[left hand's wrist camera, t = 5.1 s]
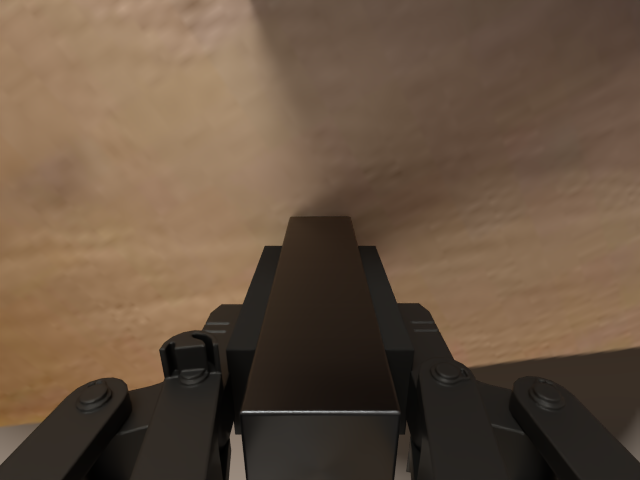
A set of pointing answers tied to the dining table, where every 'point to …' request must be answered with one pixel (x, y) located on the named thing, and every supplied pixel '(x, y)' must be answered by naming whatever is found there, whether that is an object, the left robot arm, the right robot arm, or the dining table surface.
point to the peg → (320, 367)
